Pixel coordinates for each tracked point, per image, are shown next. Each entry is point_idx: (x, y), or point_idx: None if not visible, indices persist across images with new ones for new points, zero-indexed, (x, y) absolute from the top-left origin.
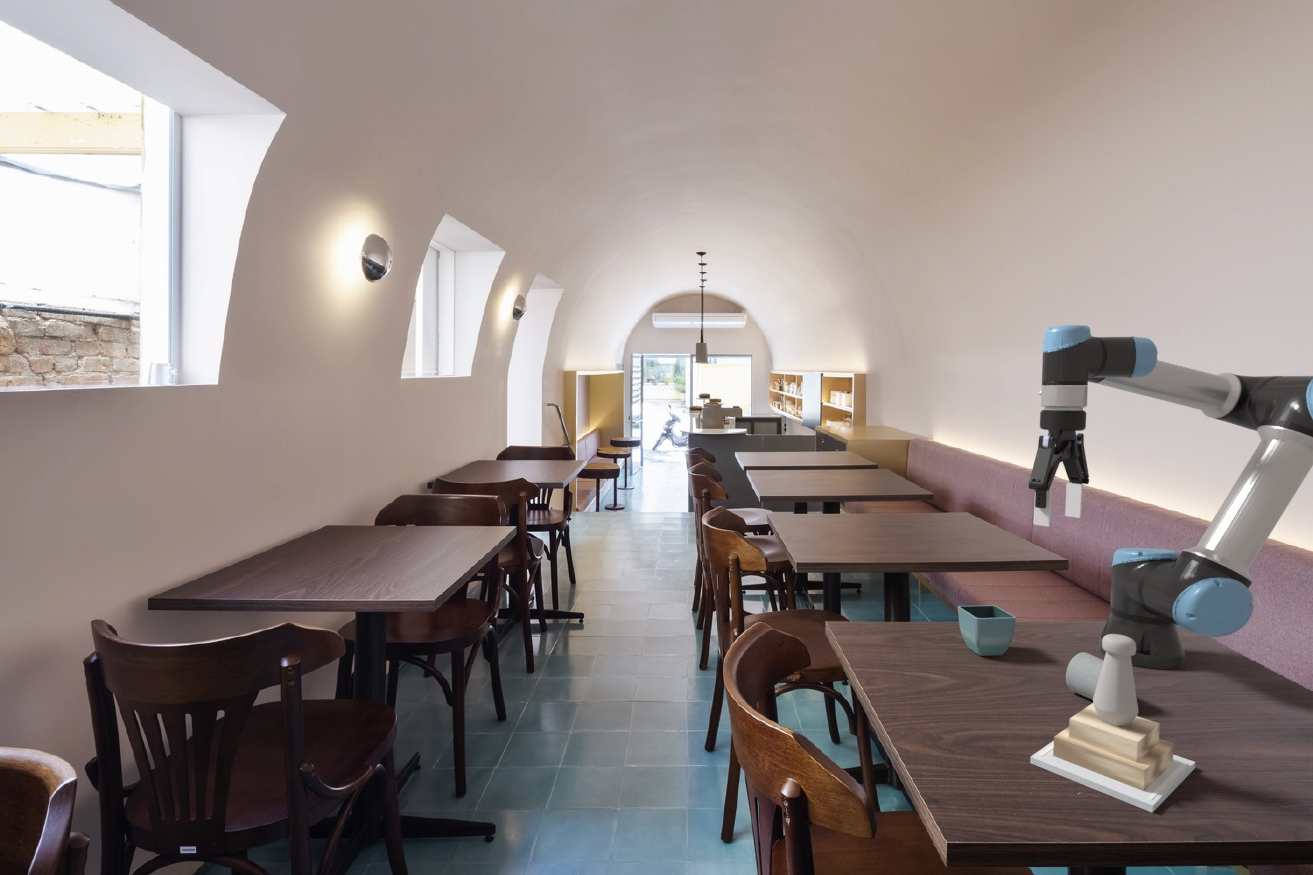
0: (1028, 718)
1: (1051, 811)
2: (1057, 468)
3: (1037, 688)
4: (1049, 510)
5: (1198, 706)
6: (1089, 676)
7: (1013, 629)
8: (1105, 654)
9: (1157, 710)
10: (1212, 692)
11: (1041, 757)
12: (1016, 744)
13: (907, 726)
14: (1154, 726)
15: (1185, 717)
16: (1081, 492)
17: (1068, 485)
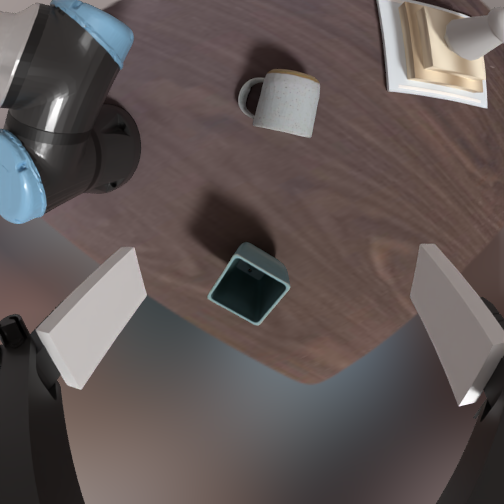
0: (408, 138)
1: None
2: (470, 502)
3: (318, 165)
4: (463, 277)
5: (204, 34)
6: (315, 105)
7: (241, 247)
8: (501, 42)
9: (258, 51)
10: (147, 48)
11: (482, 100)
12: (465, 127)
13: (494, 214)
14: (435, 10)
15: (251, 28)
16: (70, 306)
17: (82, 375)
